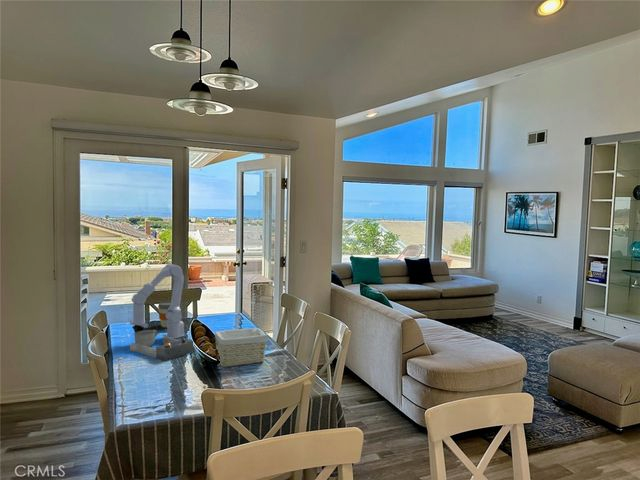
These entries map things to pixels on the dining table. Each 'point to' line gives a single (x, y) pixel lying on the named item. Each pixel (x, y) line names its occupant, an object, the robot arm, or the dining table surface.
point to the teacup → (145, 337)
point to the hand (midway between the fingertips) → (138, 338)
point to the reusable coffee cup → (163, 312)
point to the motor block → (165, 348)
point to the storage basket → (240, 346)
